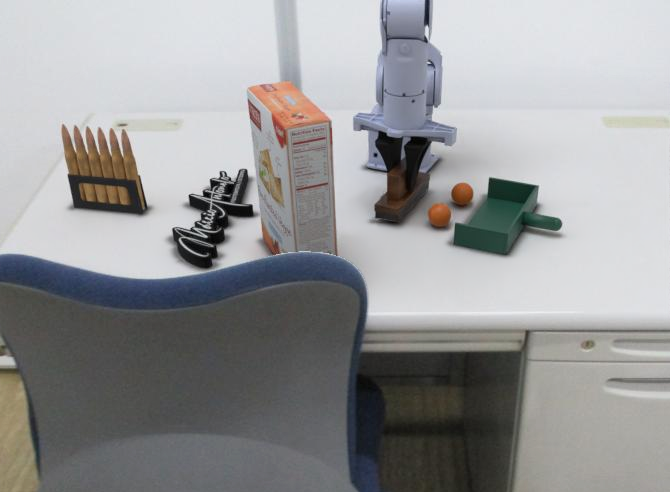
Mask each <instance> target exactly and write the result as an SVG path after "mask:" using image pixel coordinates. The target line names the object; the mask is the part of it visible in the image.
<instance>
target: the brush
mask: <svg viewBox="0 0 670 492" xmlns="http://www.w3.org/2000/svg"><path fill="white" fill-rule="evenodd" d="M430 180H431V173H429V172H426V173H424V172H418V176H417V180H416V185H415V186H414V187H413V189H412V190H407V189H406V158H405V157H404V158H403V159H402V160H401V161H400V162H399V163H398V164H397V165H396V166H395V167H394V168H393V169H392V170H391V171H390V172H389V173H388V172H387V174H386V191H385V193H384V194H383V195H382V196H380V198H379V199H377V200H376V202H375V203H374V210H373V211H374V213H375V214H374V219H379V220H384V221H390V222H395V223H400V222H401V221H402V219H404V217H405V216H406V215H407V214H408V213H409V211H410V210H411V209H412V208H413V206H415V205H416V203H418V201H419V200H420V199H421V198H422V197H423V196H424V194H425V193H426V192H427V191H428V190H429V189H430Z"/></svg>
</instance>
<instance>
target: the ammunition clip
mask: <svg viewBox="0 0 670 492" xmlns="http://www.w3.org/2000/svg"><path fill="white" fill-rule="evenodd" d="M60 129H61V131H60V132H61V139H62V144H63V150H64V151H63V153H64V160H65V164H66V167H67V171H68V173H67V180H68V184H69V189H70V194H71V199H72V204H73V207H74V209H84V210H93V211H106V212H114V213H115V212H116V213H124V214H125V213H127V214H133V215H134V214H135V215H143V214H144V213H145V212H146V211H147V209H149V207H148V203H147V199H146V195H145V191H144V186H143V182H142V178H141V175H140V174H139V171H138V166H137V161H136V157H135V156H134V152H133V149H132V145H131V140H130V137H129V135H128V133H127V131H126V130H125V129H124V128H122V129H121V134H120V135H121V136H120V137H121V138H120V142H119V139H118V137H117V134H116V132H115V131H114V129H113V128H112V127H110V129H109V133H108V140H109V146H110V149H109V146H108V142H107V138H106V135H105V133H104V130H103V129H102V128H101V127H100V126H98V127H97V131H96V133H97V134H96V135H97V143H96V139H95V136H94V134H93V131H92V130H91V128H90V126H88V125H87V126H85V142H86V145H85V142H84V139H83V136H82V133H81V131H80V129H79V127H78V126H77V125H76V124H74V125H73V131H72V133H73V140H72V138H71V137H72V136H71V134H70V132H69V130H68V128H67V127H66V125H65V124H64V123H62V124H61V128H60ZM73 141H74V144H73ZM120 143H121V147H120ZM97 144H98V146H97ZM74 147H75V148H74ZM86 148H87V149H86ZM121 148H122V151H121ZM98 150H99V151H98Z"/></svg>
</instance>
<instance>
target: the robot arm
mask: <svg viewBox="0 0 670 492" xmlns="http://www.w3.org/2000/svg"><path fill="white" fill-rule="evenodd" d="M433 13H434V0H380V1H379V33H380V38H381V49H380V50H379V53H378V55H377V66H376V71H375V102H376V103H377V104H375V105H374V106H373V108H372V109H371V112H370V113H368V112H360V111H359V112H357V113H356V114H355V115H354V116H353V117H352V130H353V131H355V132H361V131H366V132H368V133H367V134H368V135H367V137H368V138H367V139H368V141H367V142H368V143H367V144H368V147H367V148H368V163H367V164H366V168H367V169H368V168H369V169H372V170H373V169H374V170H379V171H384V172H387V174H388V173H389V172H390V171H391V170H392V169H393V168H394V167H395V166H396V165H397V164H398V163H399V162H400V161H401V160H402V159H403V158H404V157H405V158H406V189H407V190H412V189H413V187H414V186H415V185H416V180H417V176H418V172H424V173H428V171H429V170H430V169H431V168H432V167H433V166H434V164H435V163H436V162H437V161H438V160H439V159H440V156H439V155H438V154H432V153H431V152H432V143H433V142H435V143H440V144H444V146H446V147H453V145H455V143H456V142H457V137H458V135H457V134H458V127H456V126H450V125H447V124H443V123H441V122H437V121H434V120H433V114H434V109H437V108H439V106H441V104H442V90H443V89H442V88H443V68H444V67H443V56H442V53H441V51H440V49H438V48H437V47H436V46H435V45H434V44H433V43H431V42H430V41H431V37H432V33H433ZM426 27H427V28H428V37H427V36H426Z"/></svg>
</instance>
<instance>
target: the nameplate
mask: <svg viewBox="0 0 670 492" xmlns="http://www.w3.org/2000/svg"><path fill="white" fill-rule="evenodd" d="M248 182H249V172H248V169H247V168H240V169H238V172H237V175H236V178H235V181H233V180H232V177H231V176H228V173H227V172H226V171H225V170H220V171H219V177H218V178H216V177H212V178H210V179H209V185H210V189H209V188H206V189H203V190H202V195H201V194H195V193H190V194H188V203H189V206H190V207H192V208H194V209H197V210H200V211H202V212H201V213H200V220H196V221H194V226H191V227H190V229H188V228H184V227H180V226H174V227H171V233H172V237H173V241H174V242H175V244H176V247H177V252H178V254H179V256H180V257H181V258H182V259H183V260H185V261H186V262H187V263H189V264H191V265H193V266H194V267H197V268H200V269H210V268H212V267H213V264H214V263H213V259H217V258H218V257H219V255H218V247H217V245H218V244H222V242H224V241H225V239H226V237H225V228H227V227H228V226H229V224H230V223H229V216H231V217H239V218H240V217H241V218H242V217H243V218H247V217H248V218H249V217H253V216H254V207H253V206H254V205H253V204H252V203H242V202H243V199H244V196H245V193H246V189H247V186H248Z"/></svg>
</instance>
